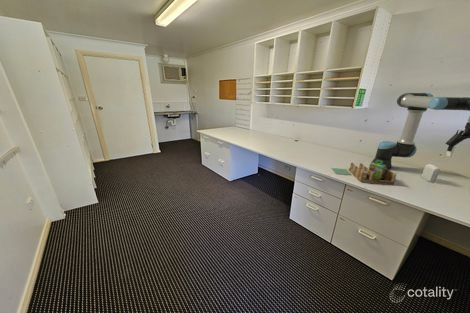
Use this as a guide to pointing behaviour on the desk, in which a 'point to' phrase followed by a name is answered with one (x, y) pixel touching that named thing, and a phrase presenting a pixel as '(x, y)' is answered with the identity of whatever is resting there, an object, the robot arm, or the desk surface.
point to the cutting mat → (341, 171)
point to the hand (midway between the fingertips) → (461, 157)
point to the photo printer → (430, 173)
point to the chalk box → (377, 169)
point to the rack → (371, 175)
